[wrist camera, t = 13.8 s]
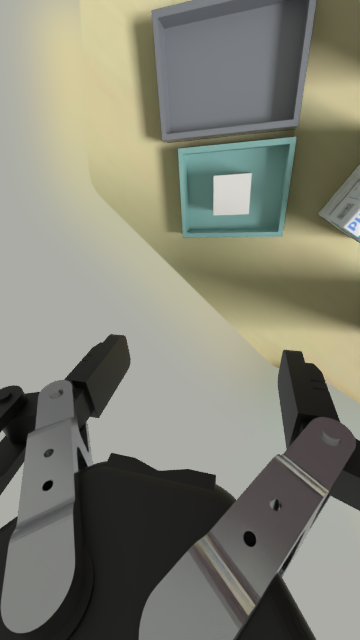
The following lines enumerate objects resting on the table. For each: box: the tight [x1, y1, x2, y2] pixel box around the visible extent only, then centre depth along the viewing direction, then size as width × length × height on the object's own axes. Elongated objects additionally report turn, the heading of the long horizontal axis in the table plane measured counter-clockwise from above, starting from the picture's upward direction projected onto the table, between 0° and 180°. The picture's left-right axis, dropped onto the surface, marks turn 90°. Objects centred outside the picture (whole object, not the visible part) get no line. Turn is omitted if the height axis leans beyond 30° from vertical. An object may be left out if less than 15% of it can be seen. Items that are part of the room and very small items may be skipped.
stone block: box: [213, 173, 252, 215], centre depth 32 cm, size 4×4×4 cm
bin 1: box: [152, 0, 317, 143], centre depth 28 cm, size 16×11×3 cm
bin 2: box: [178, 137, 297, 238], centre depth 33 cm, size 14×11×3 cm
